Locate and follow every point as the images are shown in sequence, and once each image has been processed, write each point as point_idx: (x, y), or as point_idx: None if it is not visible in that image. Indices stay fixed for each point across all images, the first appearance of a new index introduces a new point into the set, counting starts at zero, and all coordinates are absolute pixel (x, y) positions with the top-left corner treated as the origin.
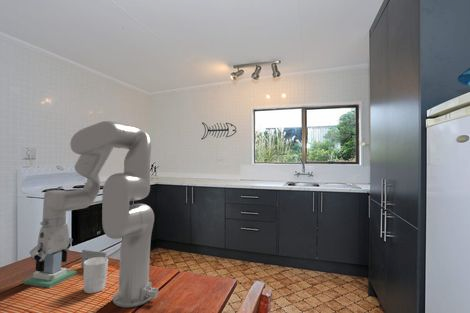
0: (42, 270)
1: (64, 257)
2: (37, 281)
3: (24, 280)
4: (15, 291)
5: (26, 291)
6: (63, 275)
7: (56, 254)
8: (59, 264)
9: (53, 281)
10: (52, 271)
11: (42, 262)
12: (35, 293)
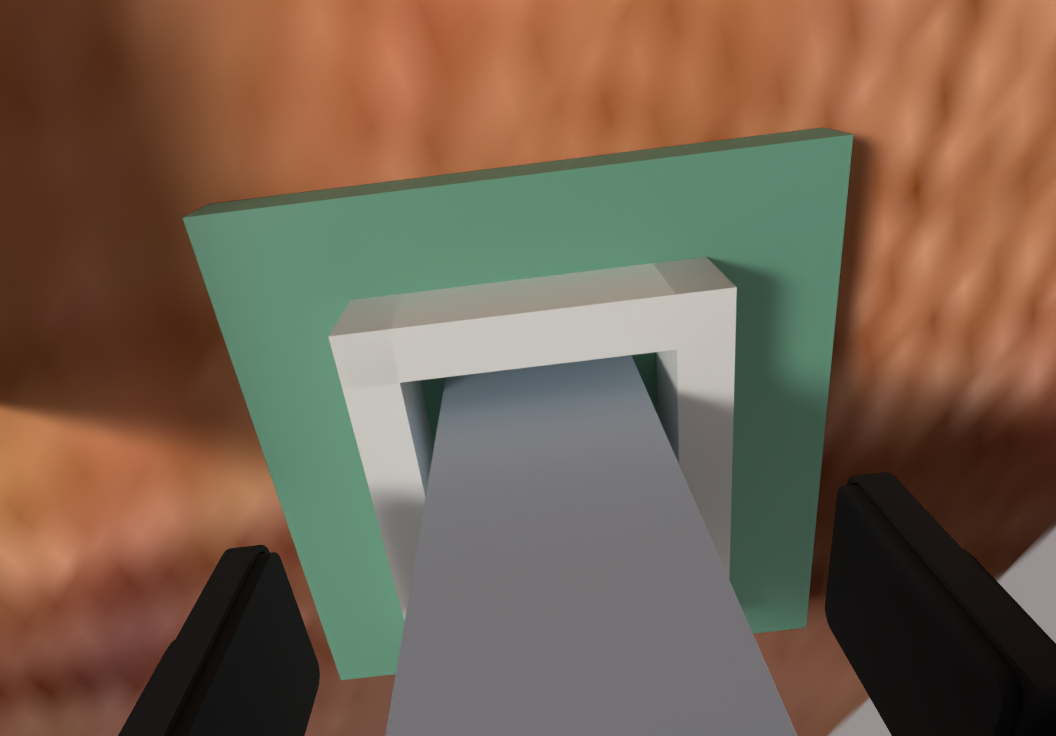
0: (898, 486)
1: (238, 654)
2: (793, 438)
3: (804, 612)
4: (995, 469)
5: (984, 344)
6: (458, 273)
7: None
8: (481, 481)
9: (730, 190)
10: (652, 409)
11: (1034, 657)
12: (1039, 147)
